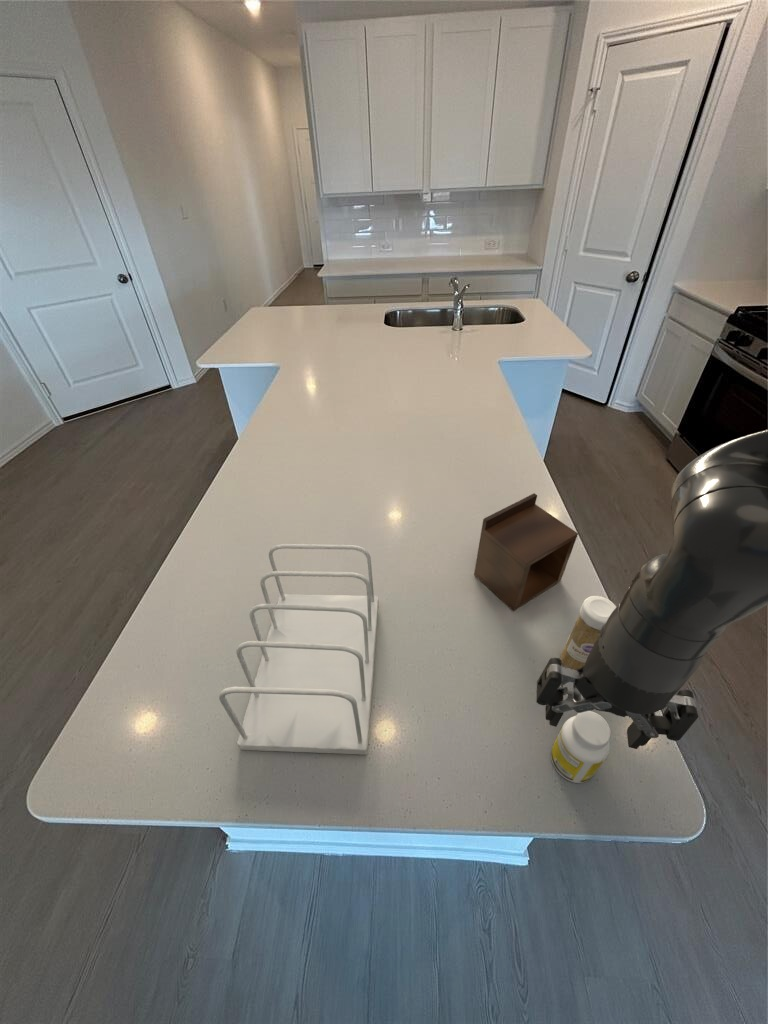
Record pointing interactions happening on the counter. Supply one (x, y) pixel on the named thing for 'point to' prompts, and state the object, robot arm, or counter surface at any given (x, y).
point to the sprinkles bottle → (586, 631)
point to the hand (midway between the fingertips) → (591, 729)
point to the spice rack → (522, 552)
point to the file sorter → (311, 669)
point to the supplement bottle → (581, 746)
